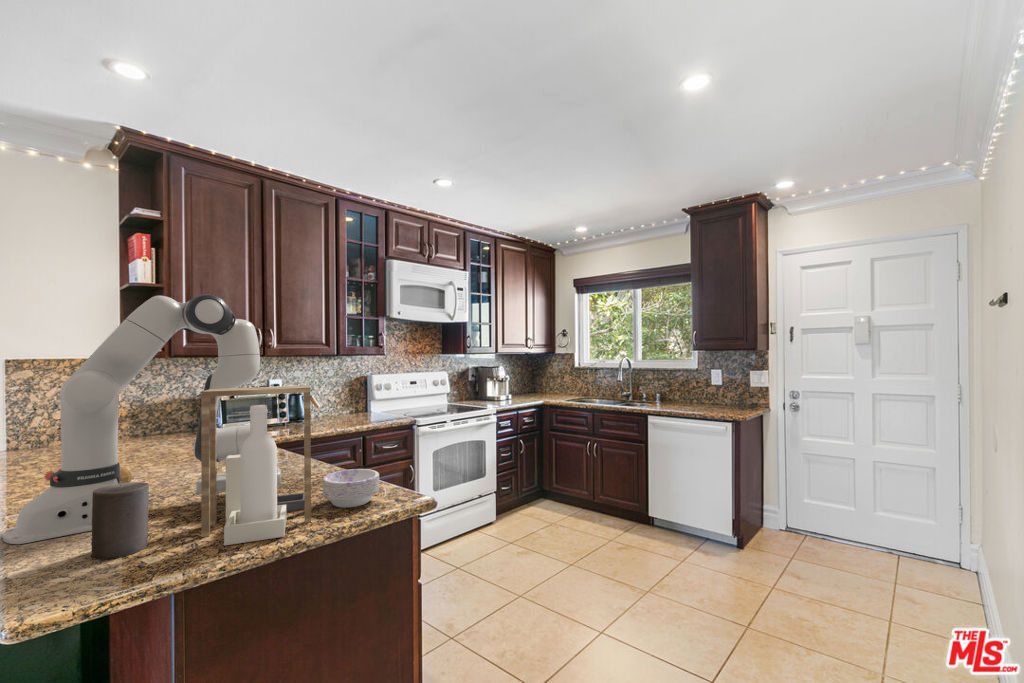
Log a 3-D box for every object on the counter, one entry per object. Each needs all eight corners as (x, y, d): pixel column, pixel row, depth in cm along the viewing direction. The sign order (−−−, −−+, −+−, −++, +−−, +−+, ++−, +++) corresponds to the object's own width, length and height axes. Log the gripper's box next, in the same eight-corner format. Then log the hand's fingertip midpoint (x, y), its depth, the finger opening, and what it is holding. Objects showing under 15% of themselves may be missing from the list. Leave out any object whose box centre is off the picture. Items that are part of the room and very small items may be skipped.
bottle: (273, 535, 112) (272, 406, 113) (235, 539, 110) (235, 407, 111) (280, 523, 120) (280, 403, 120) (245, 527, 118) (245, 404, 119)
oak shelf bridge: (209, 523, 121) (209, 389, 122) (310, 510, 130) (310, 385, 131) (201, 537, 112) (201, 391, 113) (311, 521, 121) (310, 387, 122)
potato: (104, 498, 145) (104, 471, 145) (81, 492, 151) (82, 467, 152) (141, 489, 154) (141, 464, 154) (118, 485, 160) (118, 460, 160)
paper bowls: (357, 513, 127) (357, 483, 127) (310, 508, 131) (310, 479, 132) (390, 497, 141) (389, 470, 141) (346, 493, 146) (346, 467, 146)
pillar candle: (82, 563, 98) (84, 489, 99) (101, 546, 107) (102, 478, 108) (140, 555, 102) (142, 484, 103) (153, 539, 111) (155, 473, 112)
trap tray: (253, 507, 133) (253, 498, 134) (306, 500, 139) (306, 492, 139) (249, 516, 126) (249, 506, 126) (305, 508, 131) (305, 499, 131)
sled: (228, 517, 125) (228, 455, 125) (287, 509, 130) (287, 450, 131) (213, 547, 105) (213, 473, 106) (284, 536, 111) (283, 466, 111)
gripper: (200, 469, 134) (190, 480, 122) (282, 461, 142) (279, 471, 130) (200, 492, 134) (190, 506, 121) (282, 483, 142) (279, 495, 129)
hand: (237, 488), depth 126 cm, fingers closed, pressing on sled
